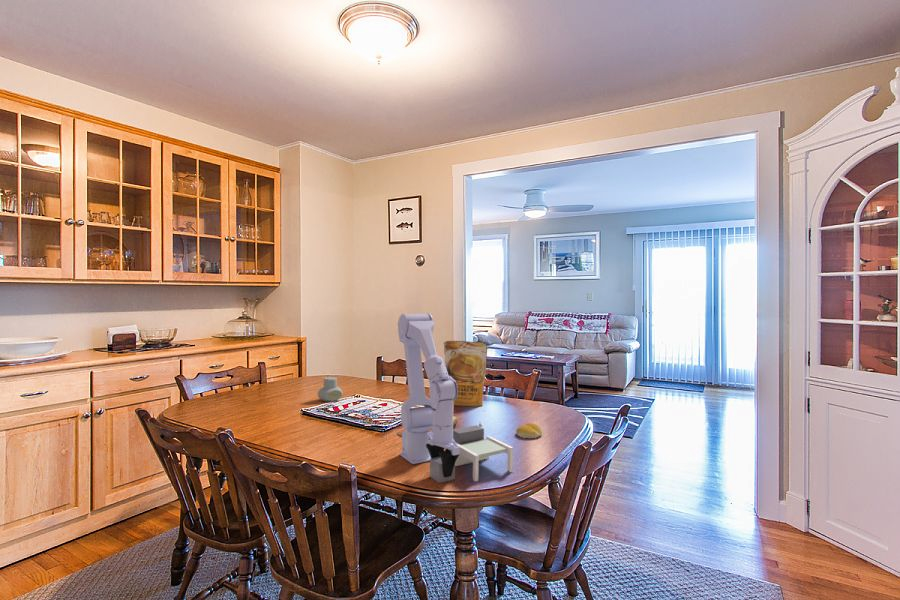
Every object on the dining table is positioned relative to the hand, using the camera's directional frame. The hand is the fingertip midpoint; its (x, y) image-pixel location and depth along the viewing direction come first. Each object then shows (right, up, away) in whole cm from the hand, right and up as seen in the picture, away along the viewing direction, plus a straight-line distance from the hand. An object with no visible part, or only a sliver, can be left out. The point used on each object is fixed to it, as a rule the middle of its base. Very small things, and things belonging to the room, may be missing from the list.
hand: (442, 472), depth 128 cm
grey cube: (0, -1, 0) cm, 1 cm away
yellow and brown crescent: (0, -1, +45) cm, 45 cm away
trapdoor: (+10, +4, +8) cm, 14 cm away
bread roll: (+30, -1, +37) cm, 48 cm away
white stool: (+10, -1, +8) cm, 13 cm away
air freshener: (-52, +2, +83) cm, 98 cm away
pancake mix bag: (+9, +1, +78) cm, 78 cm away
